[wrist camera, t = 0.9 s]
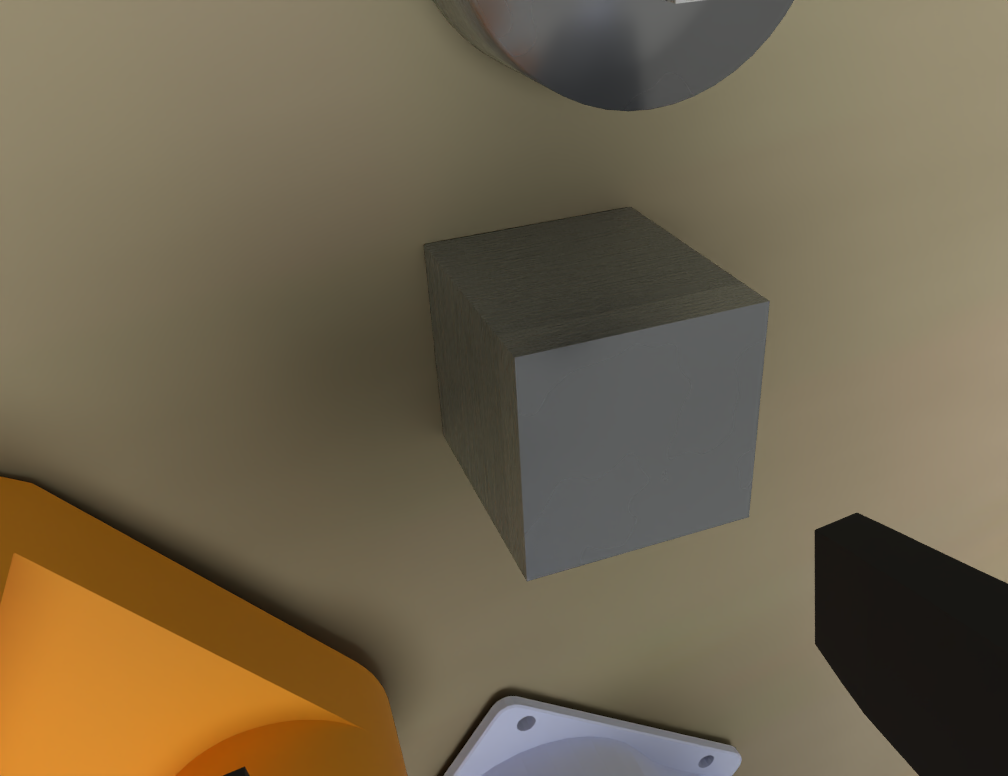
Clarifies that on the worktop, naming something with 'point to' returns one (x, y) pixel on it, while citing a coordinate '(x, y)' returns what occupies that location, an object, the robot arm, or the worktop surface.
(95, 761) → the bracket
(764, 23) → the ratchet
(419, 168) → the worktop surface
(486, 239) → the grey brushed cube
